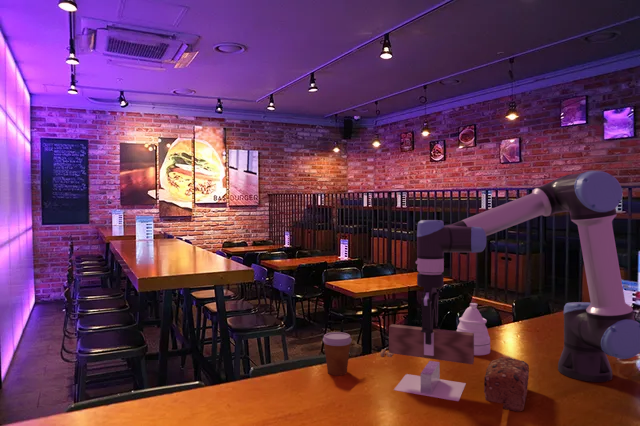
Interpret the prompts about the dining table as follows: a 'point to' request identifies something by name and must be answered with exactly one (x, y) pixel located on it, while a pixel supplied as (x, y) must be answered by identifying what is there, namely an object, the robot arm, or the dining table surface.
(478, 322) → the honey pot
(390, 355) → the dice set
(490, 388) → the bread
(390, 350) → the walnut beam
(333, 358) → the disposable coffee cup
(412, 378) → the base plate
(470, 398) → the dining table surface
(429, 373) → the steel ridge
